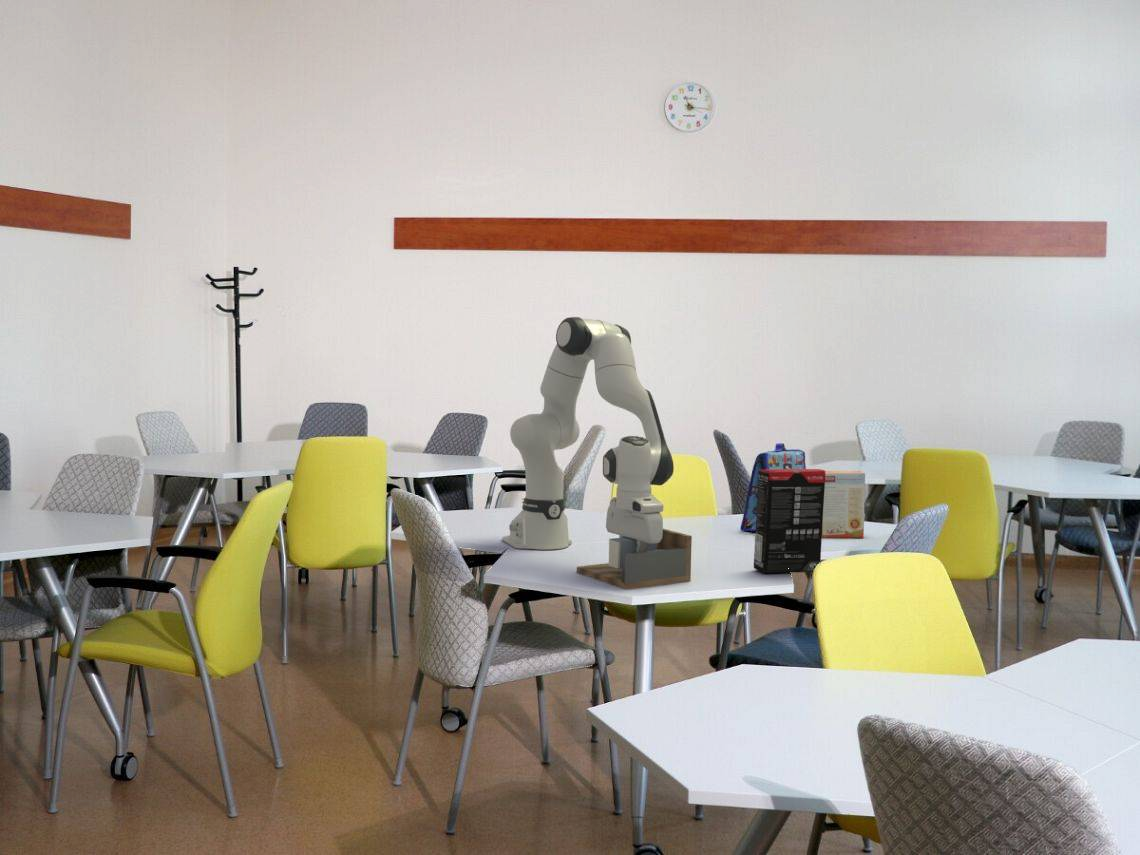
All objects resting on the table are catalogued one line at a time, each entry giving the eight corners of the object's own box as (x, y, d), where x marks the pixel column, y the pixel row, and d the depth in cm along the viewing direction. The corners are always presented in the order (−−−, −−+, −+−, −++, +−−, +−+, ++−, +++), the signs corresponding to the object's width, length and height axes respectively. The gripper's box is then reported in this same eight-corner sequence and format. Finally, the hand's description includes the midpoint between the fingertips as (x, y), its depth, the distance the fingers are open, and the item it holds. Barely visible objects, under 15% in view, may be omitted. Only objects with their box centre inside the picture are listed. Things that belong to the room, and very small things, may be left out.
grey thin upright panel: (621, 581, 253) (622, 553, 253) (682, 574, 263) (682, 547, 262) (624, 583, 252) (625, 554, 251) (685, 575, 261) (686, 548, 261)
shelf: (576, 572, 271) (577, 528, 270) (639, 565, 281) (640, 523, 280) (624, 589, 252) (625, 542, 251) (690, 581, 262) (691, 535, 262)
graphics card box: (809, 567, 283) (813, 467, 281) (823, 572, 276) (826, 470, 274) (752, 570, 278) (755, 468, 276) (765, 575, 271) (768, 471, 269)
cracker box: (858, 535, 336) (860, 470, 334) (863, 538, 330) (866, 472, 328) (814, 534, 335) (817, 470, 334) (819, 538, 329) (822, 472, 328)
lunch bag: (772, 536, 330) (775, 445, 328) (739, 530, 341) (741, 442, 339) (813, 530, 345) (816, 443, 343) (780, 524, 355) (783, 440, 353)
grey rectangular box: (608, 566, 264) (609, 538, 263) (647, 561, 270) (648, 535, 270) (617, 569, 260) (618, 541, 260) (656, 564, 267) (657, 537, 266)
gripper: (600, 496, 271) (599, 549, 272) (646, 507, 254) (645, 563, 255) (620, 495, 274) (619, 547, 275) (667, 505, 257) (666, 561, 258)
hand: (632, 555), depth 265 cm, fingers closed on grey rectangular box, 4 cm apart
